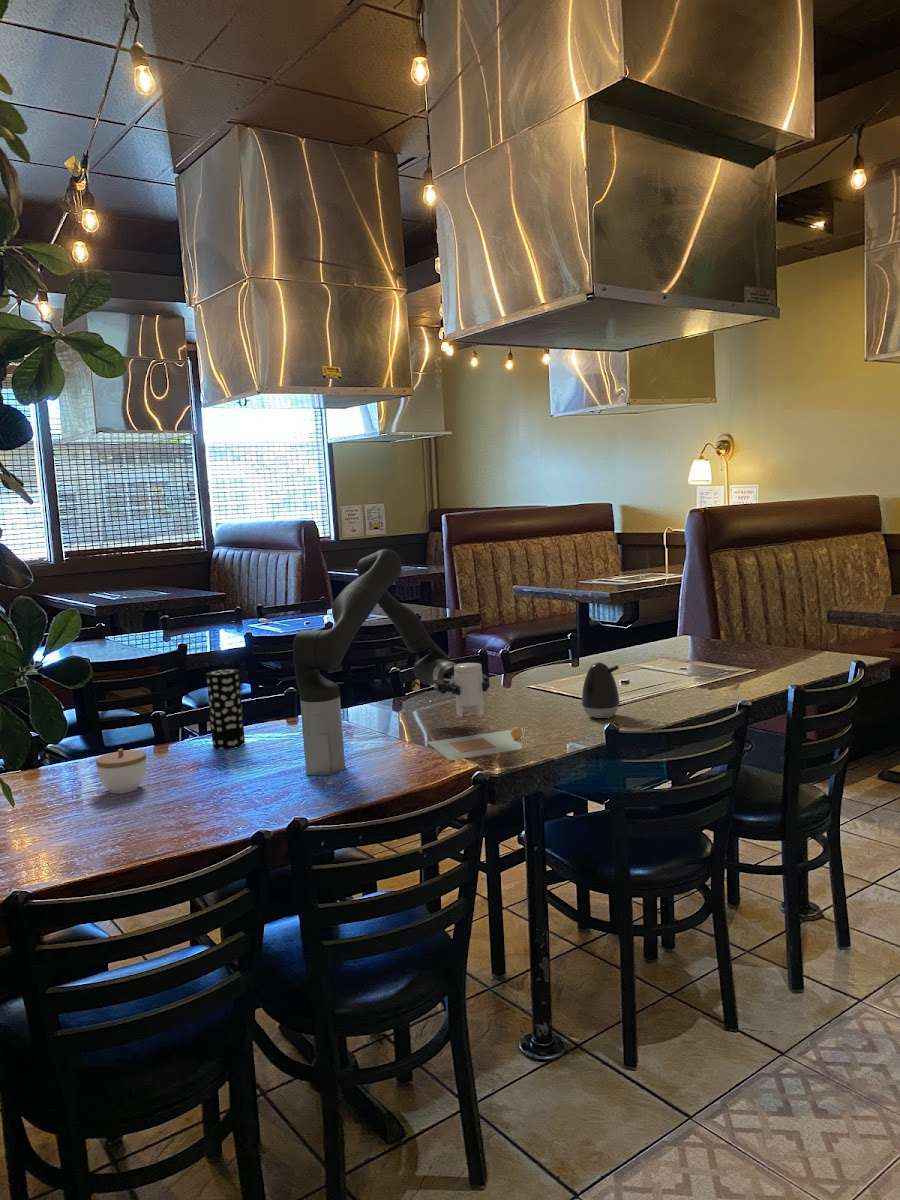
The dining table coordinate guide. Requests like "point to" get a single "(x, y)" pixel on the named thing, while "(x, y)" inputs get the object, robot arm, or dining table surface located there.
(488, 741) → the mat
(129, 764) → the lidded jar
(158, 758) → the dining table surface
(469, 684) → the white cover with opening
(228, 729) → the white-spotted black cylinder
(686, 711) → the dining table surface
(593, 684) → the pump dispenser
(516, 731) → the ball
